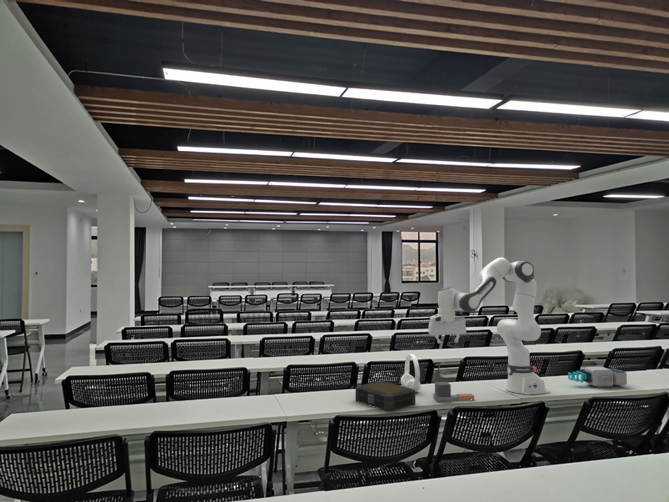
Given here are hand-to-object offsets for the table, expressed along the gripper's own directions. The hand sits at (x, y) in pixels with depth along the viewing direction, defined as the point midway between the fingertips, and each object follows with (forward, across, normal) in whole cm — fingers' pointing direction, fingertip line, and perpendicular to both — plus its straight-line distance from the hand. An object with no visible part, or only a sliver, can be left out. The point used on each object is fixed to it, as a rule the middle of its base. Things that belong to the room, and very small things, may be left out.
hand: (447, 342), depth 249 cm
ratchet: (+27, +1, +11) cm, 29 cm away
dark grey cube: (+25, +7, +11) cm, 28 cm away
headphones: (+27, +19, -10) cm, 35 cm away
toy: (+31, -89, -9) cm, 94 cm away
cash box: (+27, +38, +12) cm, 48 cm away
